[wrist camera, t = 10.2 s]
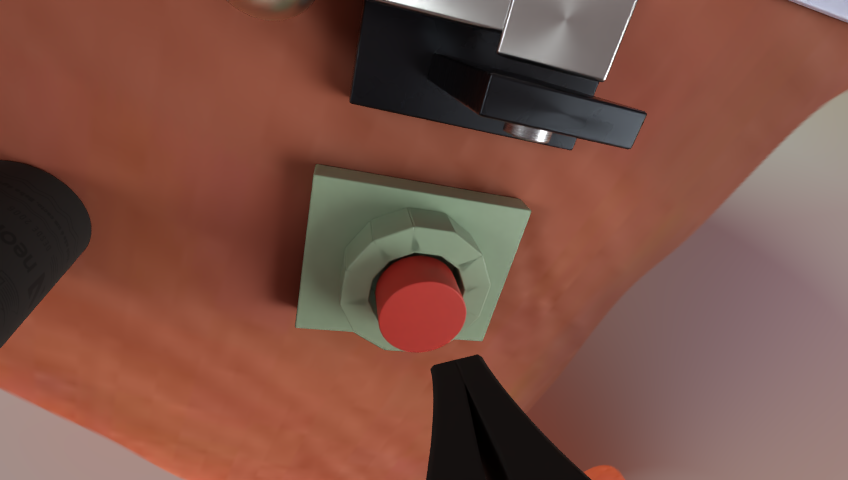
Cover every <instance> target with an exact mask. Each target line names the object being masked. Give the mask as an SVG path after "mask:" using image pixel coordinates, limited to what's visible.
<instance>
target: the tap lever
mask: <svg viewBox="0 0 848 480" xmlns="http://www.w3.org/2000/svg"><path fill="white" fill-rule="evenodd" d="M227 1H228V2H229V3H230V4H231V5H233V6H234V7H235V8H237V9H238V10H240V11H242V12H244V13H246V14H247V15H249V16H252V17H255V18H258V19H262V20H268V21H280V20H286V19H290V18H293V17H295V16H297V15H299V14H301V13H302V12H304V11H305V10H306V9H308V8H309V7H310V6H311V5H312V3H313V2H314V1H315V0H227ZM366 1H370V2H374V3H378V4H382V5H386V6H390V7H394V8H398V9H402V10H406V11H410V12H414V13H418V14H422V15H426V16H430V17H434V18H438V19H442V20H446V21H450V22H454V23H457V24H461V25H465V26H469V27H473V28H477V29H481V30H485V31H489V32H493V33H497V34H501V37H500V40H499V44H498V47H497V54H498V55H499V56H502V57H504V58H507V59H511V60H515V61H518V62H522V63H526V64H530V65H534V66H538V67H541V68H545V69H549V70H553V71H557V72H561V73H564V74H568V75H572V76H576V77H580V78H584V79H587V80H591V81H598V82H604V81H605V80H606V78H607V76H608V73H609V71H610V68H611V66H612V63H613V61H614V58H615V56H616V54H617V51H618V49H619V46H620V44H621V41H622V39H623V36H624V34H625V31H626V29H627V26H628V24H629V21H630V19H631V16H632V14H633V11H634V9H635V6H636V4H637V1H638V0H366Z"/></svg>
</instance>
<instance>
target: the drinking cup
mask: <svg viewBox="0 0 848 480" xmlns="http://www.w3.org/2000/svg"><path fill="white" fill-rule="evenodd" d="M90 237H91V222H90V218H89V215H88V213H87V210H86V208H85V207H84V205H83V203H82V202H81V200H80V199H79V198H78V197H77V195H76V194H75V193H74V192H73V191H72V190H71V189H70V188H69V187H68V186H66V185H65V184H64V183H63V182H61V181H60V180H58V179H57V178H55V177H54V176H52V175H50V174H48V173H46V172H44V171H42V170H40V169H38V168H35V167H32V166H29V165H26V164H22V163H18V162H12V161H2V160H0V348H1V347H2V346H3V345H4V343H5V342H6V341H7V340H8V339H9V338H10V336H11V335H12V334H13V333H14V332H15V331H16V329H17V328H18V327H19V326H20V325H21V324H22V322H23V321H24V320H25V319H26V318H27V317H28V315H29V314H30V313H31V312H32V311H33V310H34V308H35V307H36V306H37V305H38V304H39V303H40V301H41V300H42V299H43V298H44V297H45V296H46V294H47V293H48V292H49V291H50V290H51V289H52V287H53V286H54V285H55V284H56V283H57V282H58V280H59V279H60V278H61V277H62V276H63V275H64V273H65V272H66V271H67V270H68V269H69V268H70V266H71V265H72V264H73V263H74V262H75V261H76V259H77V258H78V257H79V256H80V255H81V254H82V252H83V251H84V250H85V249H86V247H87V245H88V243H89V241H90Z"/></svg>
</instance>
